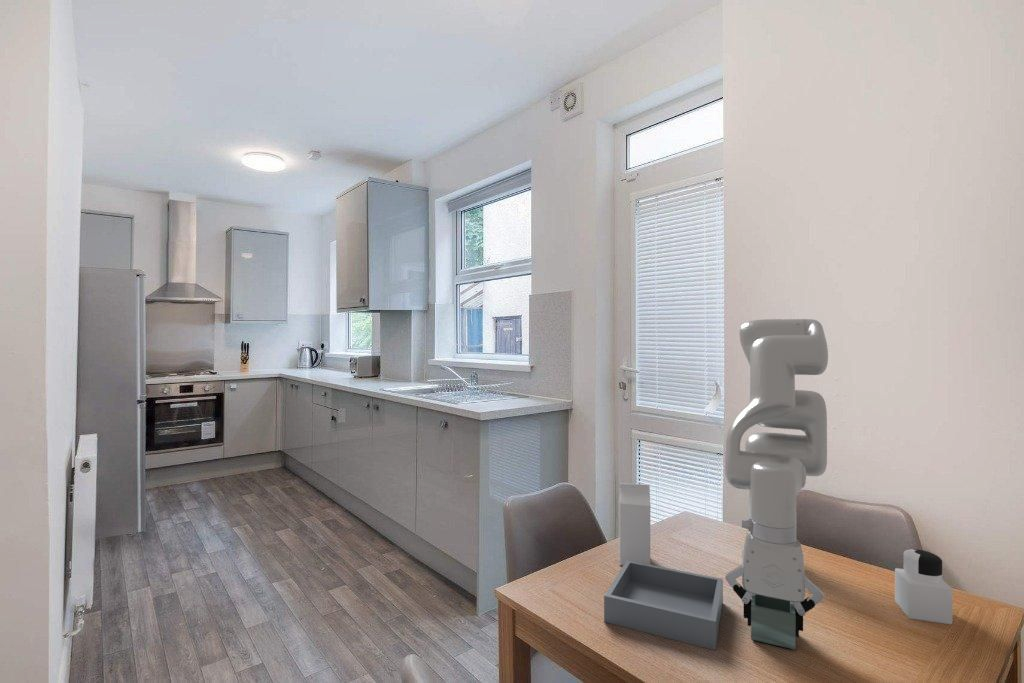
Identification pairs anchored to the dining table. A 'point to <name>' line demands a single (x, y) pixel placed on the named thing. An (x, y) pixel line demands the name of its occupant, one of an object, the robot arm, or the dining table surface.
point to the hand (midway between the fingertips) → (772, 626)
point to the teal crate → (773, 621)
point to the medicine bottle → (923, 588)
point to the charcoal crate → (666, 603)
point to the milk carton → (634, 523)
